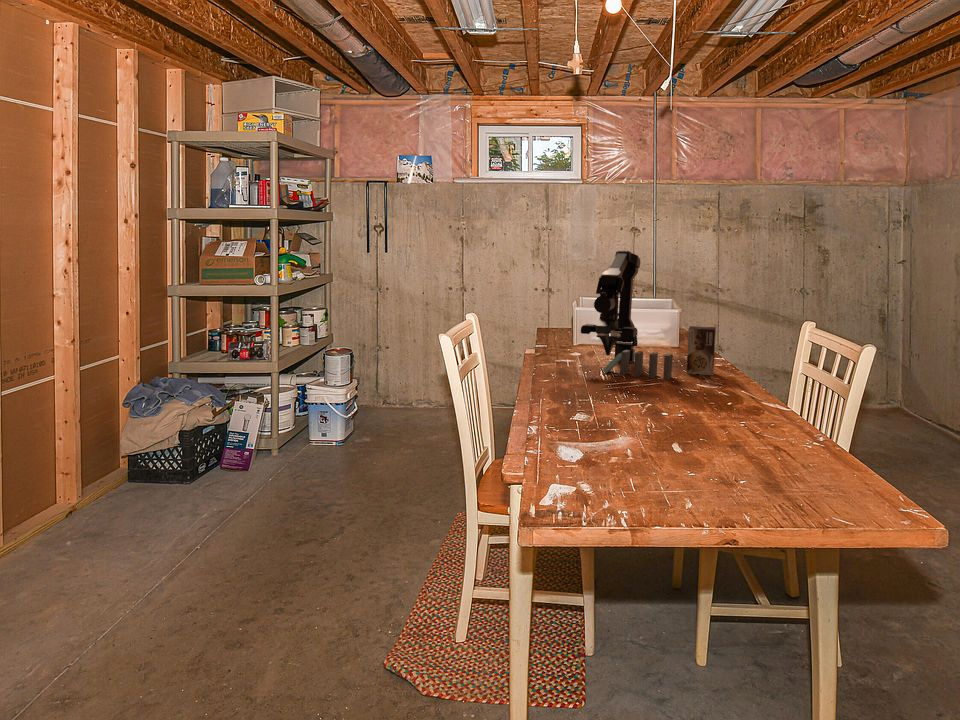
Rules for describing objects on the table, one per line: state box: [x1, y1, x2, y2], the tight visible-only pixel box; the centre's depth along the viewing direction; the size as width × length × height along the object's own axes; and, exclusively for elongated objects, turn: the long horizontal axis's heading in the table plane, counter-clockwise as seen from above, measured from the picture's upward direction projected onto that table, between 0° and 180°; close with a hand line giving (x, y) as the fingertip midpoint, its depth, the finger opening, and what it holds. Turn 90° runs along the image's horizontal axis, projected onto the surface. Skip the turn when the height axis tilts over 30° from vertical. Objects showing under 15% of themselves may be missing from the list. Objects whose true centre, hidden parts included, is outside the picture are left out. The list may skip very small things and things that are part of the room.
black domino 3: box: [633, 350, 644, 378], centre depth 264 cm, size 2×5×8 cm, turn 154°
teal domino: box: [602, 352, 622, 374], centre depth 268 cm, size 2×5×8 cm
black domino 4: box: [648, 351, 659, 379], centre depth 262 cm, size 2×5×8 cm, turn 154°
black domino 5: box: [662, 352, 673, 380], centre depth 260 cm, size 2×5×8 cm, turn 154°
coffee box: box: [685, 326, 717, 376], centre depth 268 cm, size 9×6×16 cm
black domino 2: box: [619, 350, 630, 376], centre depth 266 cm, size 2×5×8 cm, turn 154°
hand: (607, 355), depth 269 cm, fingers closed
